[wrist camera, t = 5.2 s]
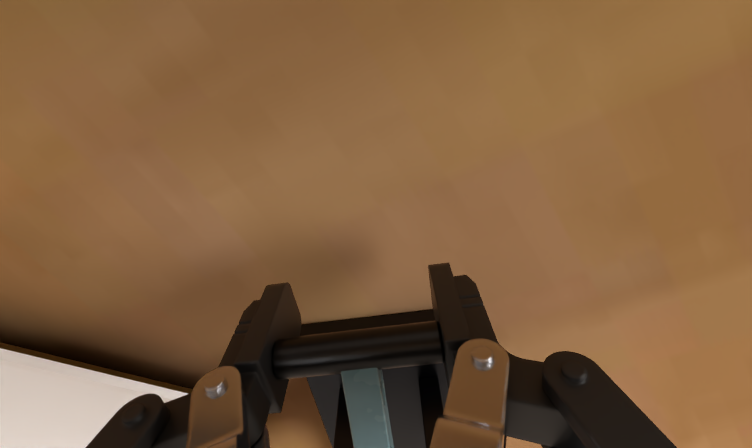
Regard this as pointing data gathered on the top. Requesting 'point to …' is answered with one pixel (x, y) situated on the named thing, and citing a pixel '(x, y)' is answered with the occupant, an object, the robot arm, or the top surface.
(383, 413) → the switch lever
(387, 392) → the switch bracket
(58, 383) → the plate
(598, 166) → the top surface
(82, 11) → the top surface
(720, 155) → the top surface
